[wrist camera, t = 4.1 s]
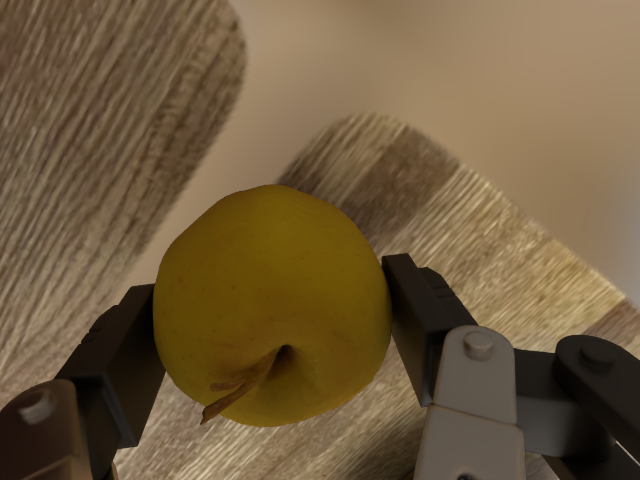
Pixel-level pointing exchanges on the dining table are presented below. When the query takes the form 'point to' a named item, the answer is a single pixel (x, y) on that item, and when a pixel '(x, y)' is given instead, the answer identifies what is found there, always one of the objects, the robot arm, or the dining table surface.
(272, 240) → the apple
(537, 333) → the dining table surface
